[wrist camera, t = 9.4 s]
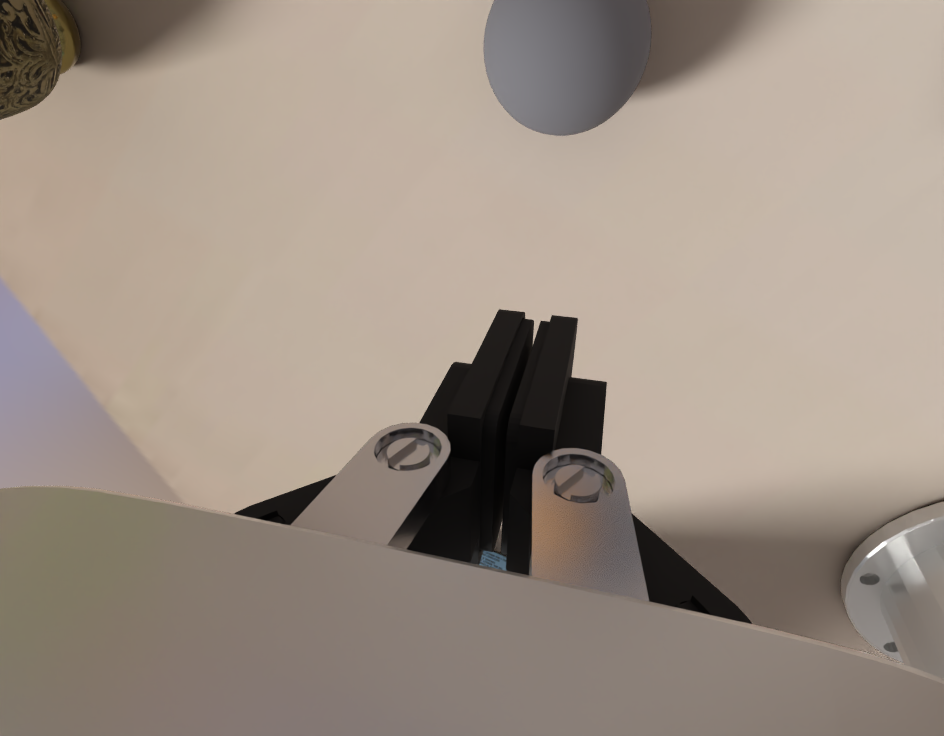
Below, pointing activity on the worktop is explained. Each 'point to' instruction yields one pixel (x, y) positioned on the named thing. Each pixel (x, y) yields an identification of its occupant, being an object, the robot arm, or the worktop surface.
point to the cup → (34, 51)
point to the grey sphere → (565, 59)
